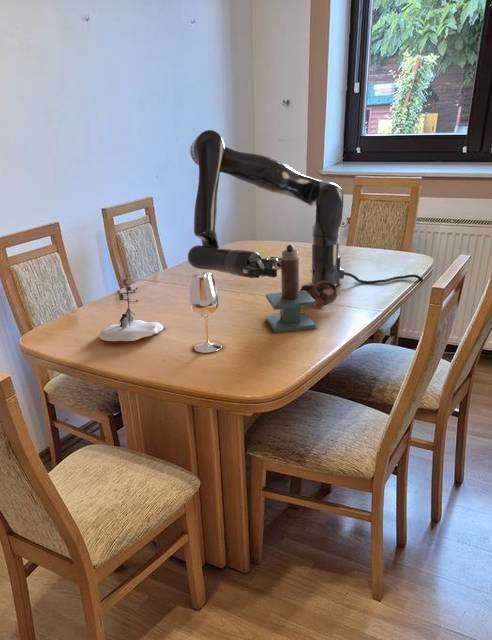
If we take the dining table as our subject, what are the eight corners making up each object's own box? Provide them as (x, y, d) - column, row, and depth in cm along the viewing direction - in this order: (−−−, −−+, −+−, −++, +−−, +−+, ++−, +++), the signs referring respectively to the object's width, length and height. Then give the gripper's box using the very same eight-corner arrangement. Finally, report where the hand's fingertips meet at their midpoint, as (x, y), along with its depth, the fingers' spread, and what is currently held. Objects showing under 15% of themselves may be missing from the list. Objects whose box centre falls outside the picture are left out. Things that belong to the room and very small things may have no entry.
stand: (305, 315, 178) (305, 289, 174) (315, 328, 167) (315, 301, 163) (266, 320, 177) (265, 293, 173) (274, 333, 166) (274, 305, 162)
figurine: (143, 346, 161) (136, 286, 154) (87, 342, 167) (78, 284, 160) (173, 328, 178) (169, 274, 171) (121, 326, 184) (115, 273, 177)
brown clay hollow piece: (335, 300, 191) (341, 281, 184) (330, 320, 186) (336, 302, 179) (300, 291, 191) (304, 272, 184) (294, 311, 187) (298, 293, 180)
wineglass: (193, 344, 163) (186, 272, 153) (221, 341, 163) (215, 269, 153) (194, 354, 156) (187, 279, 146) (223, 351, 156) (218, 277, 146)
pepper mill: (296, 294, 170) (296, 241, 163) (300, 299, 166) (300, 245, 158) (279, 296, 170) (279, 243, 162) (283, 300, 166) (283, 247, 158)
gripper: (225, 255, 168) (269, 261, 159) (257, 245, 177) (300, 251, 167) (227, 281, 172) (270, 289, 162) (258, 270, 181) (300, 277, 171)
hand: (285, 269), depth 165 cm, fingers open, 8 cm apart
